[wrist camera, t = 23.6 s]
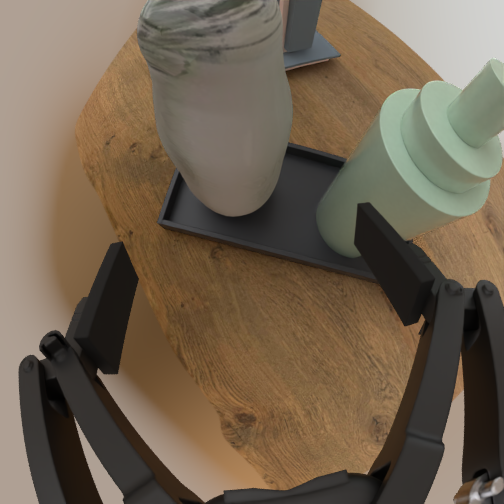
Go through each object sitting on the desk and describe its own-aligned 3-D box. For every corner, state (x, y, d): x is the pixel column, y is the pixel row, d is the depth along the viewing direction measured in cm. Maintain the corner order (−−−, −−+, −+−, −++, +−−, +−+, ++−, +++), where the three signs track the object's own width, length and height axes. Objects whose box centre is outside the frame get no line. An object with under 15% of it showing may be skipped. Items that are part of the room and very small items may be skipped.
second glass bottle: (299, 212, 35) (398, 23, 7) (353, 169, 36) (466, 9, 8) (351, 275, 34) (554, 216, 6) (400, 226, 35) (568, 129, 7)
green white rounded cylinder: (214, 144, 37) (170, -52, 9) (286, 169, 36) (338, -35, 8) (182, 209, 35) (57, 35, 7) (258, 238, 35) (279, 51, 7)
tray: (163, 228, 36) (156, 222, 33) (197, 133, 38) (194, 123, 35) (395, 288, 34) (405, 287, 32) (408, 191, 36) (417, 184, 34)
